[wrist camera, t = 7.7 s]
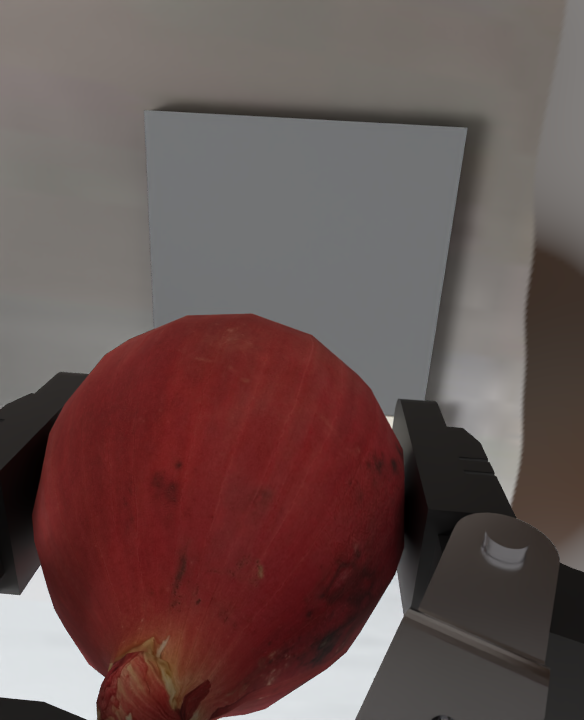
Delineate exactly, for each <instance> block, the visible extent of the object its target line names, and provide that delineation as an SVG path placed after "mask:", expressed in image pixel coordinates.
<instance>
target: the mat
mask: <svg viewBox="0 0 584 720" xmlns="http://www.w3.org/2000/svg"><path fill="white" fill-rule="evenodd" d="M144 122H145V144H146V166H147V188H148V210H149V232H150V254H151V276H152V298H153V320H154V329H155V328H158V327H160V326H163V325H165V324H167V323H170V322H172V321H175V320H177V319H179V318H182V317H184V316H187V315H216V314H250V313H252V314H255V315H258V316H261V317H263V318H266V319H269V320H272V321H274V322H277V323H280V324H283V325H286V326H288V327H291V328H294V329H297V330H299V331H302V332H305V333H308V334H311V335H313V336H314V337H315V338H316V339H317V340H318V341H320V342H321V343H322V344H323V345H324V346H325V347H327V348H328V349H329V350H330V351H331V352H332V353H334V354H335V355H336V356H337V357H338V358H339V359H340V360H342V361H343V362H344V363H345V364H346V365H347V366H349V367H350V368H351V369H352V370H353V371H354V372H356V373H357V374H358V375H359V376H360V377H361V378H362V379H363V381H364V382H365V383H366V384H367V385H368V386H369V387H370V388H371V390H372V392H373V394H374V396H375V398H376V399H377V401H378V403H379V405H380V407H381V409H382V411H383V413H384V415H385V416H386V418H387V420H388V422H389V424H390V426H391V428H392V427H393V420H394V413H395V407H396V403H397V400H398V399H411V400H424V401H425V395H426V389H427V382H428V376H429V370H430V363H431V357H432V351H433V344H434V338H435V332H436V325H437V319H438V312H439V306H440V300H441V293H442V287H443V281H444V274H445V268H446V262H447V255H448V249H449V243H450V236H451V230H452V224H453V217H454V211H455V205H456V198H457V192H458V185H459V179H460V173H461V166H462V160H463V154H464V147H465V141H466V135H467V128H464V127H445V126H427V125H409V124H390V123H372V122H353V121H335V120H316V119H298V118H280V117H261V116H243V115H224V114H206V113H187V112H169V111H150V110H144Z"/></svg>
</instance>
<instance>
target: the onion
mask: <svg viewBox="0 0 584 720" xmlns="http://www.w3.org/2000/svg"><path fill="white" fill-rule="evenodd" d="M404 492H405V475H404V456H403V449H402V447H401V445H400V443H399V441H398V439H397V437H396V435H395V433H394V432H393V430H392V428H391V426H390V424H389V422H388V420H387V418H386V416H385V415H384V413H383V411H382V409H381V407H380V405H379V403H378V401H377V399H376V398H375V396H374V394H373V392H372V390H371V388H370V387H369V386H368V385H367V384H366V383H365V382H364V381H363V379H362V378H361V377H360V376H359V375H358V374H357V373H356V372H354V371H353V370H352V369H351V368H350V367H349V366H347V365H346V364H345V363H344V362H343V361H342V360H340V359H339V358H338V357H337V356H336V355H335V354H334V353H332V352H331V351H330V350H329V349H328V348H327V347H325V346H324V345H323V344H322V343H321V342H320V341H318V340H317V339H316V338H315V337H314V336H313V335H311V334H308V333H305V332H302V331H299V330H297V329H294V328H291V327H288V326H286V325H283V324H280V323H277V322H274V321H272V320H269V319H266V318H263V317H261V316H258V315H255V314H252V313H250V314H216V315H187V316H184V317H182V318H179V319H177V320H175V321H172V322H170V323H167V324H165V325H163V326H160V327H158V328H155V329H153V330H151V331H148V332H146V333H143V334H141V335H138V336H136V337H134V338H131V339H129V340H127V341H126V342H124V343H123V344H121V345H120V346H118V347H116V348H115V349H113V350H112V351H110V352H109V353H107V354H105V355H104V357H103V358H102V359H101V360H100V362H99V363H98V364H97V365H96V366H95V368H94V369H93V370H92V371H91V373H90V374H89V375H88V376H87V377H86V379H85V380H84V381H83V382H82V384H81V385H80V386H79V387H78V388H77V390H76V391H75V392H74V393H73V395H72V396H71V397H70V398H69V399H68V401H67V402H66V403H65V405H64V407H63V408H62V410H61V412H60V414H59V416H58V418H57V420H56V421H55V423H54V425H53V427H52V429H51V431H50V433H49V438H48V442H47V447H46V452H45V457H44V461H43V466H42V471H41V476H40V481H39V485H38V490H37V495H36V499H35V504H34V508H33V513H32V522H33V532H34V542H35V546H36V549H37V553H38V556H39V560H40V563H41V567H42V570H43V574H44V577H45V581H46V584H47V588H48V591H49V594H50V597H51V600H52V603H53V606H54V609H55V611H56V613H57V615H58V616H59V618H60V620H61V622H62V623H63V625H64V627H65V629H66V630H67V632H68V633H69V635H70V636H71V638H72V639H73V641H74V642H75V644H76V645H77V647H78V648H79V650H80V651H81V653H82V654H83V656H84V658H85V659H86V661H87V662H88V664H89V665H90V666H92V667H93V668H94V669H95V670H97V671H98V672H99V673H100V674H102V675H103V676H104V677H105V679H104V681H103V682H102V684H101V688H100V691H99V695H98V699H97V702H96V704H97V720H217V719H219V718H222V717H229V716H237V715H245V714H249V713H252V712H256V711H260V710H263V709H266V708H267V707H269V706H270V705H272V704H273V703H275V702H277V701H278V700H280V699H281V698H283V697H284V696H286V695H287V694H289V693H290V692H292V691H294V690H295V689H297V688H298V687H300V686H301V685H303V684H304V683H306V682H307V681H309V680H310V679H312V678H314V677H315V676H317V675H318V674H320V673H321V672H323V671H324V670H326V669H327V668H329V667H330V666H331V665H332V664H333V663H334V662H336V661H337V660H338V659H339V658H340V657H341V656H343V655H344V654H345V653H346V652H347V651H348V649H349V648H350V646H351V645H352V643H353V642H354V640H355V639H356V638H357V636H358V635H359V633H360V632H361V630H362V628H363V627H364V625H365V623H366V622H367V620H368V619H369V617H370V615H371V614H372V612H373V610H374V609H375V607H376V605H377V604H378V602H379V600H380V599H381V597H382V595H383V594H384V592H385V590H386V589H387V587H388V585H389V584H390V582H391V580H392V579H393V577H394V575H395V573H396V570H397V567H398V564H399V562H400V559H401V556H402V553H403V550H404Z"/></svg>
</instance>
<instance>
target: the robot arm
mask: <svg viewBox="0 0 584 720" xmlns="http://www.w3.org/2000/svg"><path fill="white" fill-rule="evenodd" d="M88 375H89V374H80V373H67V372H59V373H58V374H56V375H55V376H54V377H53V378H52V379H51V380H49V381H48V382H47V383H46V384H45V385H44V386H43V387H42V388H40V389H39V390H38V391H37V392H36V393H35V394H32V393H31V394H28V395H26V396H24V397H22V398H20V399H17V400H15V401H13V402H11V403H9V404H6V405H5V406H4V407H3V408H2V409H0V593H3V594H14V595H20V594H21V593H22V591H23V590H24V588H25V587H26V585H27V584H28V583H29V581H30V580H31V578H32V577H33V575H34V574H35V572H36V571H37V569H38V568H39V566H40V565H41V563H40V560H39V556H38V553H37V549H36V546H35V542H34V532H33V522H32V513H33V508H34V504H35V499H36V495H37V490H38V485H39V481H40V476H41V471H42V466H43V461H44V457H45V452H46V447H47V442H48V438H49V433H50V431H51V429H52V427H53V425H54V423H55V421H56V420H57V418H58V416H59V414H60V412H61V410H62V408H63V407H64V405H65V403H66V402H67V401H68V399H69V398H70V397H71V396H72V395H73V393H74V392H75V391H76V390H77V388H78V387H79V386H80V385H81V384H82V382H83V381H84V380H85V379H86V377H87V376H88ZM392 430H393V432H394V433H395V435H396V437H397V439H398V441H399V443H400V445H401V447H402V449H403V456H404V475H405V492H404V550H403V553H402V556H401V559H400V562H399V564H398V567H397V573H398V580H399V587H400V593H401V600H402V607H403V613H404V617H403V619H402V621H401V623H400V625H399V627H398V629H397V631H396V634H395V636H394V638H393V640H392V642H391V644H390V646H389V649H388V651H387V653H386V655H385V657H384V659H383V661H382V663H381V666H380V668H379V670H378V672H377V674H376V676H375V678H374V681H373V683H372V685H371V687H370V689H369V691H368V693H367V695H366V698H365V700H364V702H363V704H362V706H361V708H360V710H359V713H358V715H357V717H356V719H355V720H584V572H582V571H579V570H576V569H573V568H570V567H568V566H566V565H564V564H562V563H560V558H559V554H558V551H557V549H556V548H555V546H554V545H553V544H552V542H551V541H550V540H549V539H548V538H547V537H546V536H545V535H544V534H543V533H542V532H540V531H539V530H538V529H536V528H535V527H533V526H531V525H530V524H528V523H525V522H523V521H521V520H519V519H516V516H515V514H514V512H513V510H512V508H511V506H510V504H509V502H508V500H507V498H506V495H505V493H504V491H503V489H502V487H501V485H500V483H499V481H498V479H497V477H496V476H494V470H493V468H492V466H491V464H490V462H488V458H487V456H486V454H485V452H484V450H483V448H482V445H481V443H480V442H479V441H478V440H476V439H475V438H474V437H473V436H472V435H470V434H469V433H468V432H467V431H466V430H464V429H463V428H456V427H446V424H445V421H444V419H443V416H442V414H441V411H440V409H439V406H438V404H437V402H436V401H424V400H411V399H398V400H397V403H396V407H395V413H394V420H393V427H392ZM0 720H86V719H84V718H81V717H79V716H77V715H74V714H72V713H69V712H67V711H64V710H62V709H60V708H57V707H55V706H52V705H50V704H48V703H45V702H40V701H30V700H20V699H10V698H0Z"/></svg>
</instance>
